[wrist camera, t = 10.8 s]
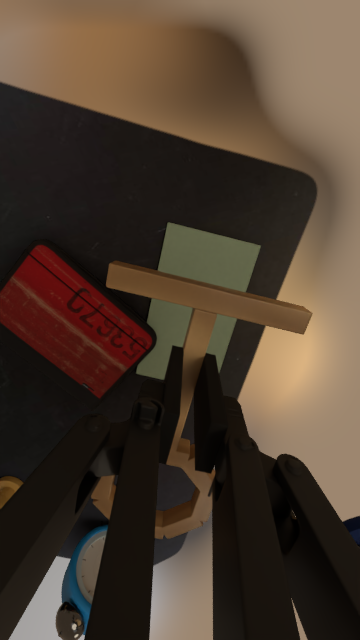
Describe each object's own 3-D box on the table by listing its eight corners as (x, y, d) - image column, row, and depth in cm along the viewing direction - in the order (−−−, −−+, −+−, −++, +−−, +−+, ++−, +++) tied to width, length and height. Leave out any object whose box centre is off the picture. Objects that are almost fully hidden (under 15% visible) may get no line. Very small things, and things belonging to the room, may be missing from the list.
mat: (212, 389, 42) (213, 391, 41) (136, 372, 41) (135, 373, 41) (260, 245, 35) (260, 245, 34) (168, 222, 34) (167, 222, 34)
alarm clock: (152, 533, 53) (138, 646, 39) (141, 552, 55) (124, 666, 41) (87, 513, 52) (48, 621, 38) (79, 533, 54) (39, 644, 40)
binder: (91, 413, 41) (-31, 321, 37) (96, 404, 43) (-18, 317, 39) (163, 341, 37) (35, 230, 33) (164, 335, 39) (44, 231, 36)
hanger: (211, 532, 24) (212, 550, 23) (77, 504, 24) (70, 521, 22) (303, 306, 17) (313, 313, 16) (115, 260, 17) (108, 263, 15)
